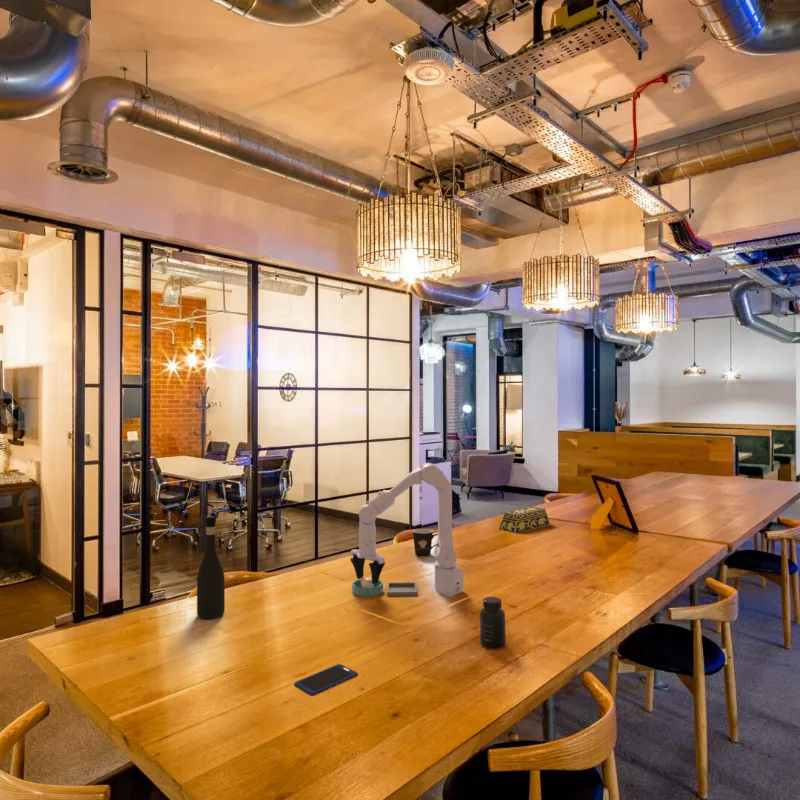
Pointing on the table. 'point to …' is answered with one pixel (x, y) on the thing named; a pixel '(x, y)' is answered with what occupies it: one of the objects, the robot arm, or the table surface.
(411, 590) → the parts tray
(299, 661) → the table surface
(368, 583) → the stone
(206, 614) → the wine bottle
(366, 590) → the bowl
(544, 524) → the decorative box
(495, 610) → the supplement bottle
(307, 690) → the cell phone
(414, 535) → the coffee mug
